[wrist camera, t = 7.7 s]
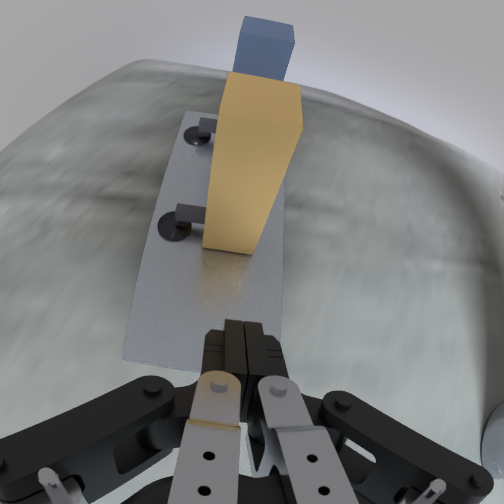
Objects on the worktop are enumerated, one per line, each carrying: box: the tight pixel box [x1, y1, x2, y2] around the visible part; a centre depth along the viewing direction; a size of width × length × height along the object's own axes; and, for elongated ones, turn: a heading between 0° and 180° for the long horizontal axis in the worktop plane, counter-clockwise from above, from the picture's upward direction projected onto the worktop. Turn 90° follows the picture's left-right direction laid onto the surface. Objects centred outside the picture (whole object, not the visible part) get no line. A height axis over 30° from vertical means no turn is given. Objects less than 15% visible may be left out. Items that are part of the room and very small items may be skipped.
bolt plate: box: [122, 111, 284, 372], centre depth 28 cm, size 26×11×1 cm, turn 176°
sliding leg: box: [175, 72, 303, 255], centre depth 21 cm, size 4×6×13 cm, turn 86°
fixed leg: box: [198, 16, 295, 134], centre depth 26 cm, size 4×6×13 cm, turn 86°
